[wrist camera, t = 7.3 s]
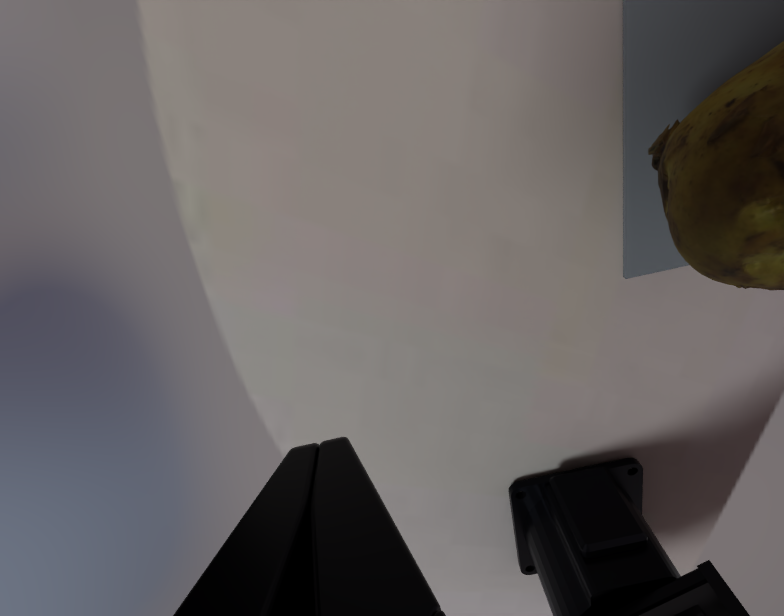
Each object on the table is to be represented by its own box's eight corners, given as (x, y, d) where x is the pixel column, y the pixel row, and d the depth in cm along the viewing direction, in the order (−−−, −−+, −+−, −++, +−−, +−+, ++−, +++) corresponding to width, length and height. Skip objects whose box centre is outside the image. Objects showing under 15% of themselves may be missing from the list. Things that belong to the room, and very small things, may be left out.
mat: (754, 248, 21) (758, 250, 21) (623, 276, 21) (625, 278, 21) (794, -79, 16) (799, -80, 16) (622, -40, 16) (626, -41, 16)
